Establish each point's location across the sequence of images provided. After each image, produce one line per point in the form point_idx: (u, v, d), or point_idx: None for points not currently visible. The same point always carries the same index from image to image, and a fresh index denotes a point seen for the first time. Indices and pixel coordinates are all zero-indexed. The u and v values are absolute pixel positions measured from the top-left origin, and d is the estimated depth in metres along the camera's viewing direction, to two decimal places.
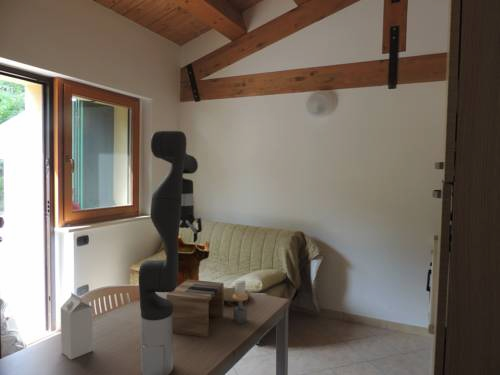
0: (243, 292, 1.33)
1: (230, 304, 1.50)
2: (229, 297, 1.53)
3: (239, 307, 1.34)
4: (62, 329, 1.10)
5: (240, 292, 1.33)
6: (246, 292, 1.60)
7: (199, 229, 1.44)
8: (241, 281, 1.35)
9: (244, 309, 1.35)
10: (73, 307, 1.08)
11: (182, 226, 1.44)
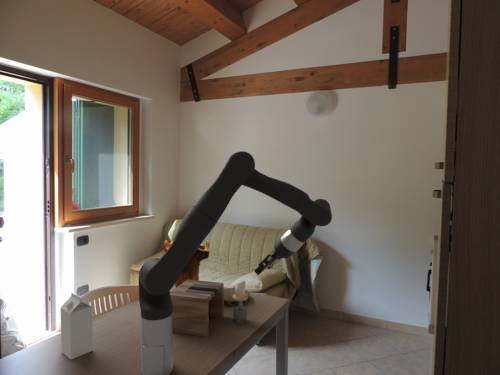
0: (243, 292, 1.33)
1: (230, 304, 1.50)
2: (229, 297, 1.53)
3: (239, 307, 1.34)
4: (62, 329, 1.10)
5: (240, 292, 1.32)
6: (246, 292, 1.60)
7: None
8: (241, 281, 1.35)
9: (244, 309, 1.35)
10: (73, 307, 1.08)
11: None
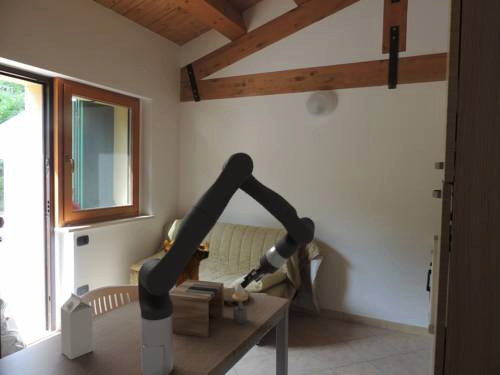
0: (243, 292, 1.33)
1: (230, 304, 1.50)
2: (229, 297, 1.53)
3: (239, 307, 1.34)
4: (62, 329, 1.10)
5: (240, 292, 1.33)
6: (246, 292, 1.60)
7: None
8: (241, 281, 1.35)
9: (244, 309, 1.35)
10: (73, 307, 1.08)
11: None
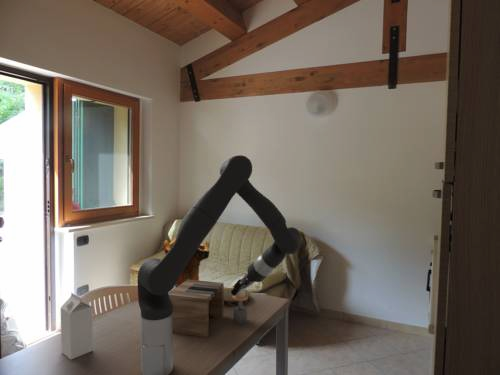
0: (243, 292, 1.33)
1: (230, 304, 1.50)
2: (229, 297, 1.53)
3: (239, 307, 1.34)
4: (62, 329, 1.10)
5: (240, 292, 1.32)
6: (246, 292, 1.60)
7: None
8: None
9: (244, 309, 1.35)
10: (73, 307, 1.08)
11: None
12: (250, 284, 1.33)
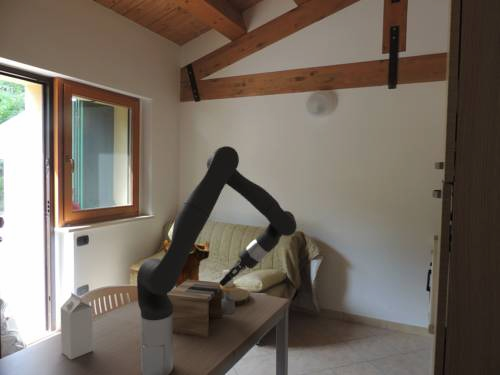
0: (232, 281, 1.28)
1: None
2: None
3: (228, 297, 1.28)
4: (62, 329, 1.10)
5: (229, 282, 1.27)
6: (246, 292, 1.60)
7: (227, 274, 1.24)
8: (228, 270, 1.29)
9: (232, 299, 1.30)
10: (73, 307, 1.08)
11: None
12: None
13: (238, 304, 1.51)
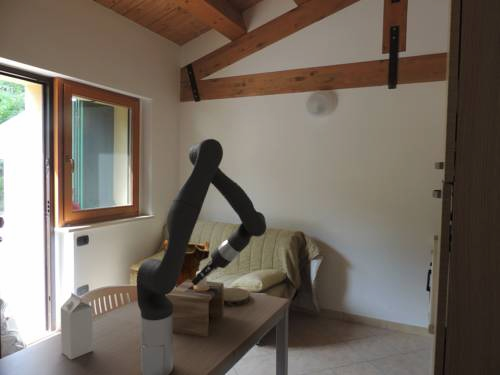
0: (205, 282, 1.31)
1: (230, 304, 1.50)
2: (229, 297, 1.53)
3: None
4: (62, 329, 1.10)
5: (202, 283, 1.30)
6: (246, 292, 1.60)
7: (198, 273, 1.25)
8: None
9: None
10: (73, 307, 1.08)
11: None
12: None
13: (238, 304, 1.51)
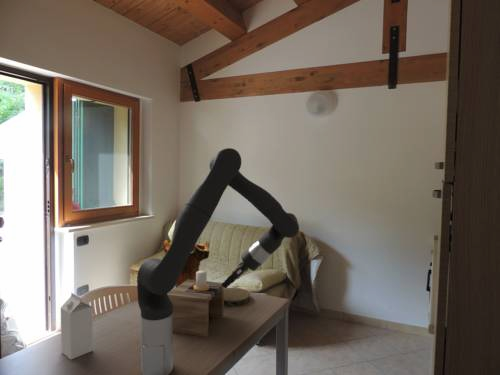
0: (205, 282, 1.31)
1: (230, 304, 1.50)
2: (229, 297, 1.53)
3: None
4: (62, 329, 1.10)
5: (202, 283, 1.30)
6: (246, 292, 1.60)
7: None
8: (202, 271, 1.32)
9: None
10: (73, 307, 1.08)
11: None
12: None
13: (238, 304, 1.51)
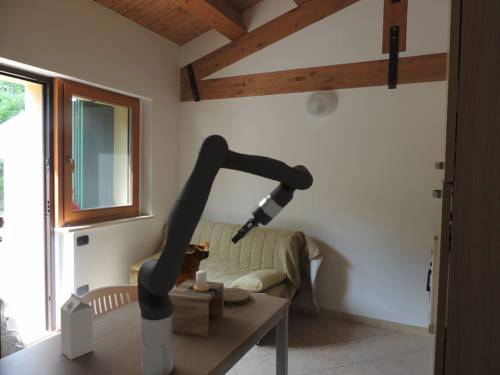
0: (205, 282, 1.31)
1: (230, 304, 1.50)
2: (229, 297, 1.53)
3: None
4: (62, 329, 1.10)
5: (202, 283, 1.30)
6: (246, 292, 1.60)
7: None
8: (202, 271, 1.32)
9: None
10: (73, 307, 1.08)
11: None
12: (252, 230, 1.26)
13: (238, 304, 1.51)
